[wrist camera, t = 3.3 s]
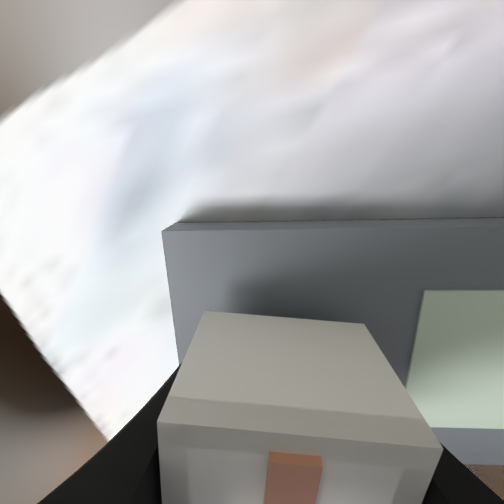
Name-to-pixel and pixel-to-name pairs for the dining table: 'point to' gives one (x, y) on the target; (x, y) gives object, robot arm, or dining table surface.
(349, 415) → the white cube with stripe
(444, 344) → the board
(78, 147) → the dining table surface
